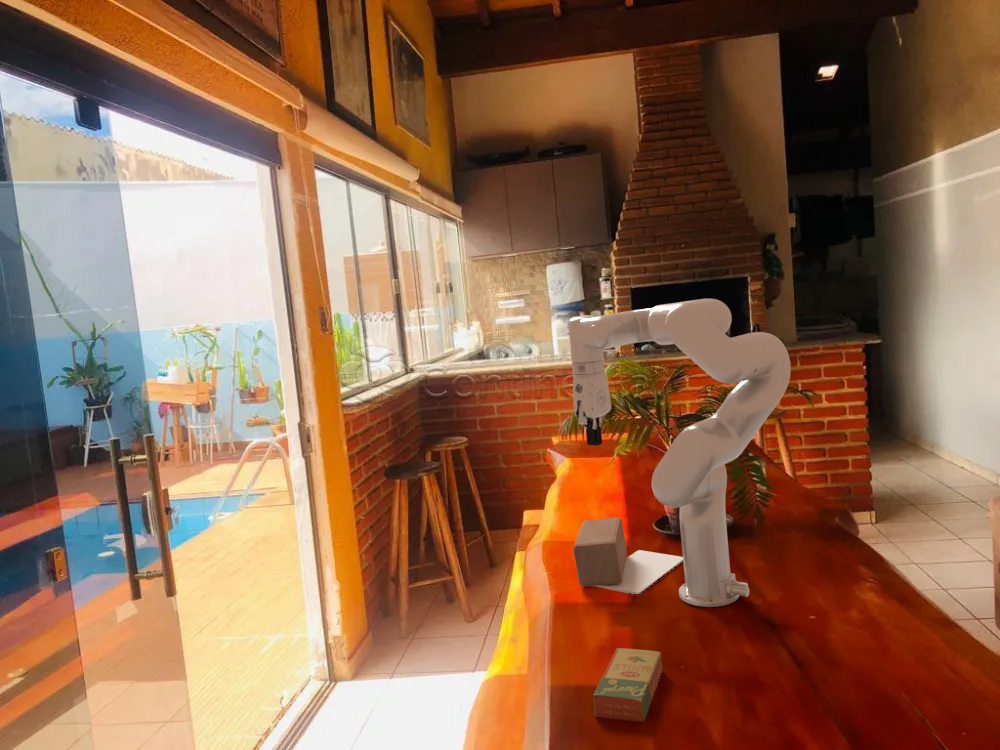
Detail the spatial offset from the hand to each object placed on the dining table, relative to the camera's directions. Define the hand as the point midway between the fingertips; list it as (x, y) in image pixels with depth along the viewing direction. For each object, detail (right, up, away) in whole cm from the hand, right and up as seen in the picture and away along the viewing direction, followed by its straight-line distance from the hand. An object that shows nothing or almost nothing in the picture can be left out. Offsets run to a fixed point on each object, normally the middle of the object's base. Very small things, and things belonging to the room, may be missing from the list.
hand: (594, 444), depth 181 cm
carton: (0, -38, -52) cm, 64 cm away
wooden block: (-1, -27, -9) cm, 28 cm away
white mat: (+10, -30, -1) cm, 32 cm away
